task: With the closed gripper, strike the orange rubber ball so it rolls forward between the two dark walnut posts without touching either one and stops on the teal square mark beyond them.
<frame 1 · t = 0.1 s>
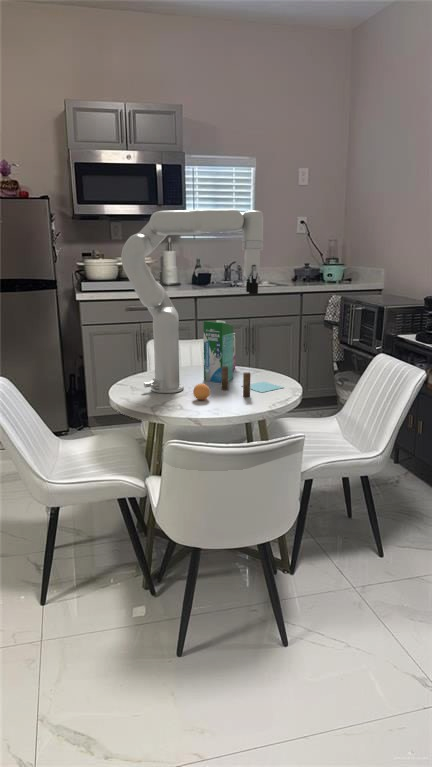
hand: (251, 293, 199), 37 cm above the table, tool pointing down, fingers open, 9 cm apart
milk carton: (218, 379, 222), on the table
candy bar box: (228, 370, 239), on the table
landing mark: (262, 387, 210), on the table
left post: (224, 389, 206), on the table
right post: (246, 396, 196), on the table
ball: (201, 391, 191), on the table
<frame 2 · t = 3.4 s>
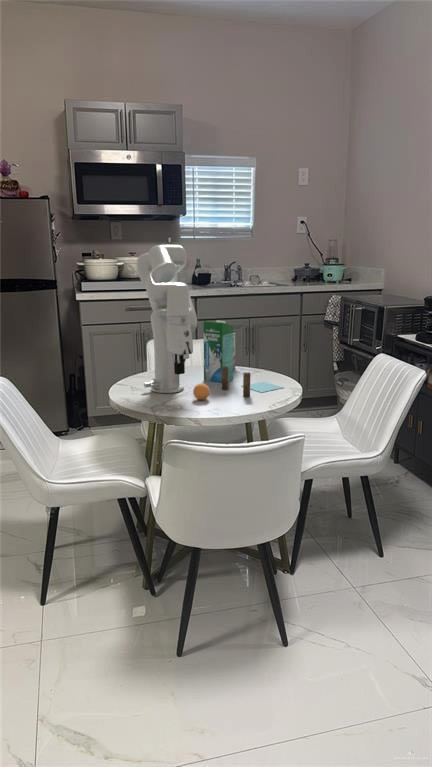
hand: (179, 373, 183), 11 cm above the table, tool pointing down, fingers closed
nothing on the table moved.
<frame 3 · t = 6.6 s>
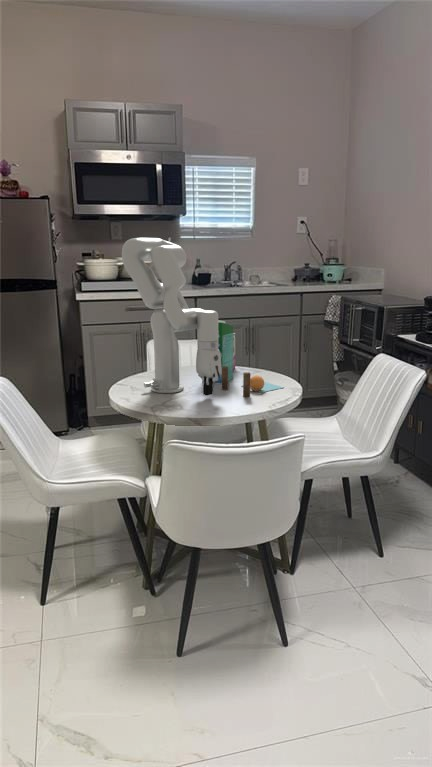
hand: (208, 394, 193), 2 cm above the table, tool pointing down, fingers closed
ball: (256, 383, 204), on the table
everything else where it was.
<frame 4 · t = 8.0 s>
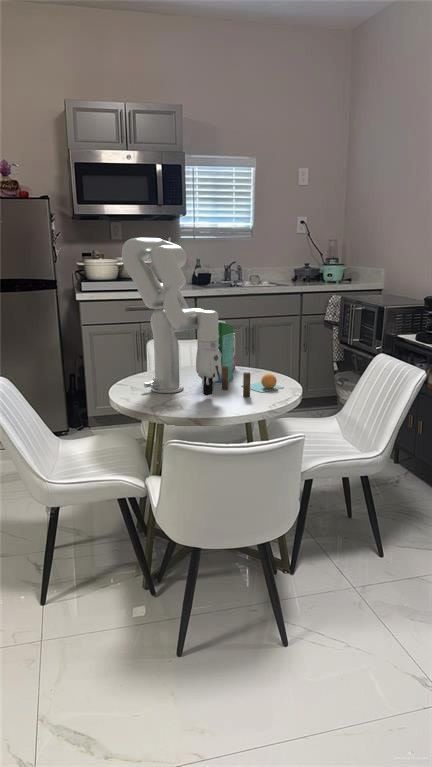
hand: (208, 394, 193), 2 cm above the table, tool pointing down, fingers closed
ball: (268, 381, 207), on the table
everything else where it was.
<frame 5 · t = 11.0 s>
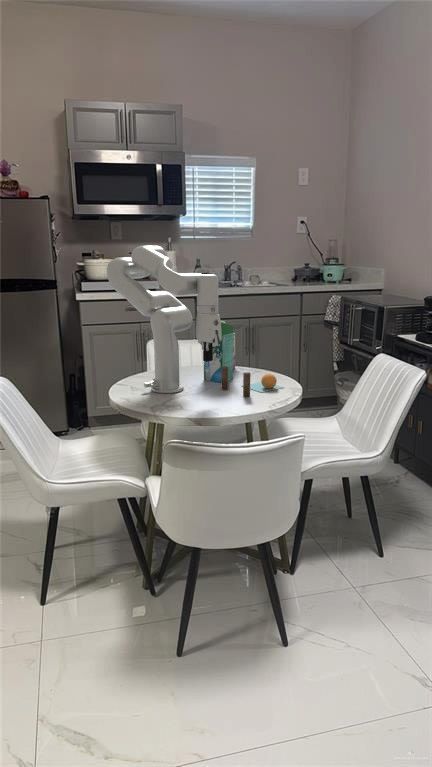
hand: (207, 360, 190), 14 cm above the table, tool pointing down, fingers closed
nothing on the table moved.
at the end: ball 3.1 cm from the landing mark (horizontally); ball never touched left post; ball never touched right post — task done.
